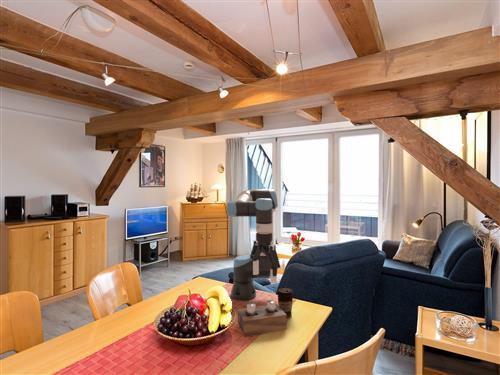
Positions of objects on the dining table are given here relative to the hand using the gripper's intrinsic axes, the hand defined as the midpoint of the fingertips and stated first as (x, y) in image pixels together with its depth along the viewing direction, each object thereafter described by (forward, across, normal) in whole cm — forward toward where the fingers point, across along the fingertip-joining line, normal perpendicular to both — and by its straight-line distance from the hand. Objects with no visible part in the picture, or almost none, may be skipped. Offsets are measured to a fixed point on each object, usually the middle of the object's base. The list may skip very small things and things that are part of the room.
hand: (264, 278), depth 127 cm
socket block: (+24, -2, 0) cm, 24 cm away
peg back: (+18, -1, +5) cm, 19 cm away
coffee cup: (+24, -5, +16) cm, 29 cm away
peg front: (+18, -4, -5) cm, 19 cm away
